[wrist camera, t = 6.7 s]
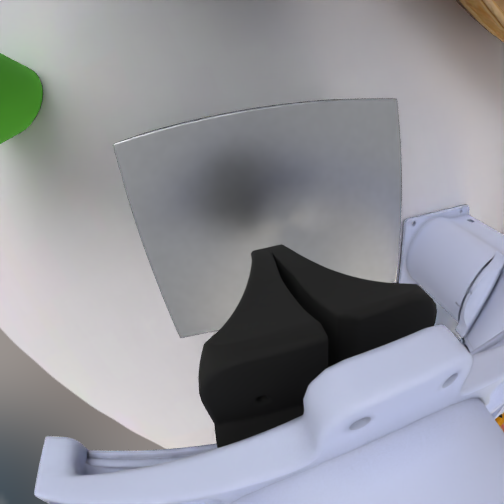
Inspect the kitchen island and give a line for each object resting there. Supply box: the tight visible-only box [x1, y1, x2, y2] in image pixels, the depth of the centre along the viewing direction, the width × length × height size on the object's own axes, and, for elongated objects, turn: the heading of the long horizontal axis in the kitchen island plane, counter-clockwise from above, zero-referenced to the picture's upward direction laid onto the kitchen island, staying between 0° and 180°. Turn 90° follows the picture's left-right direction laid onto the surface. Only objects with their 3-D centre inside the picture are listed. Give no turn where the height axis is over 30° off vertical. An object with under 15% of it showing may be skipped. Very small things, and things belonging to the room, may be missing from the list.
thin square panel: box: [113, 98, 402, 338], centre depth 15 cm, size 14×12×1 cm
